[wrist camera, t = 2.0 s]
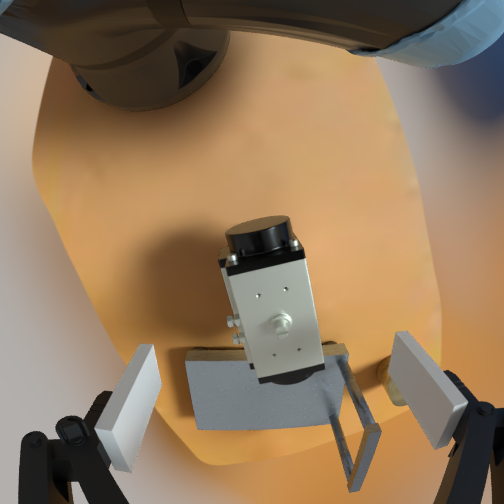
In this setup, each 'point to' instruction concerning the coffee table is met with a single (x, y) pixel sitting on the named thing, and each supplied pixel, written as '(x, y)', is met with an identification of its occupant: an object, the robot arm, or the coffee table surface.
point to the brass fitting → (389, 383)
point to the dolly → (280, 400)
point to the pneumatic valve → (272, 300)
